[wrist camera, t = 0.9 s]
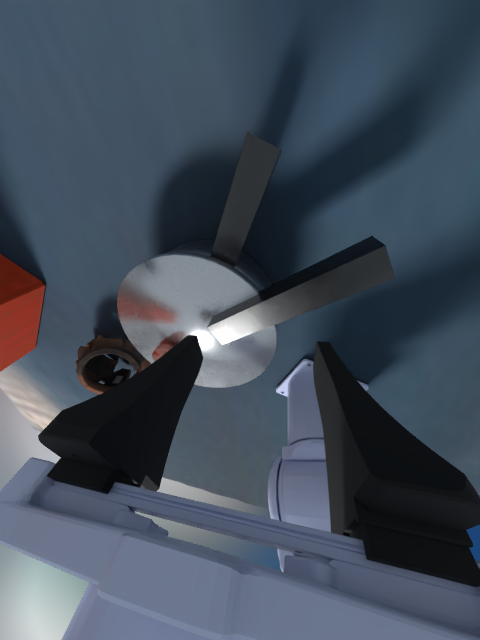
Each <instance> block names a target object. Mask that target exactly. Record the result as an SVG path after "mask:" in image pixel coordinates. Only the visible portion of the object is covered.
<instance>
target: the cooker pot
mask: <svg viewBox="0 0 480 640" xmlns="http://www.w3.org/2000/svg"><path fill="white" fill-rule="evenodd" d="M280 154H281V149H279V148H277V147H275V146H273V145H271V144H270V143H268V142H266V141H264V140H262V139H260V138H258V137H256V136H254V135H252V134H250V133H248V132H247V135H246V138H245V142H244V145H243V148H242V152H241V155H240V158H239V162H238V165H237V168H236V172H235V175H234V178H233V182H232V185H231V189H230V192H229V195H228V199H227V202H226V205H225V209H224V212H223V215H222V219H221V222H220V226H219V229H218V232H217V236H216V239H215V240H195V241H190V242H187V243H184V244H182V245H180V246H178V247H176V248H175V249H173V250H172V251H170V252H194V253H199V254H204V255H207V256H210V257H213V258H216V259H219V260H221V261H223V262H225V263H227V264H229V265H231V266H233V267H234V268H236V269H237V270H239V271H240V272H242V273H243V274H244V275H245V276H247V277H248V278H249V279H250V280H251V281H252V282H253V283H254V284H255V285H256V286H257V287H258V288H259V289H260V291H261V290H263V289H265V288H267V287H269V286H271V283H270V280H269V278H268V276H267V275H266V273H265V272H264V270H263V269H262V268H261V266H260V265H259V264H258V263H257V262H256V261H255V260H254V259H253V258H252V257H251V256H249V255H248V254H247V253H245V252H244V251H242V250H243V248H244V245H245V243H246V240H247V237H248V235H249V232H250V230H251V227H252V225H253V222H254V220H255V217H256V215H257V212H258V210H259V207H260V205H261V202H262V200H263V197H264V195H265V192H266V189H267V187H268V184H269V182H270V179H271V177H272V174H273V172H274V169H275V167H276V164H277V162H278V159H279V157H280Z"/></svg>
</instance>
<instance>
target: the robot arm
mask: <svg viewBox="0 0 480 640" xmlns="http://www.w3.org/2000/svg"><path fill="white" fill-rule="evenodd" d="M202 362H203V355H202V351H201V347H200V344H199V340H198V337H197V335H187V336H186V337H185V338H184V339H182V340H181V341H180V342H179V343H177V344H176V345H175V346H174V347H173V348H171V349H170V350H169V351H168V352H166V353H165V354H164V355H163V356H161V357H160V358H159V359H157V360H156V361H155V362H153V363H152V364H151V365H149V366H148V367H147V368H145V369H144V370H142V371H141V372H139V373H138V374H136V375H134V376H133V377H131V378H130V379H128V380H126V381H124V382H123V383H121V384H119V385H117V386H115V387H114V388H112V389H110V390H108V391H106V392H104V393H102V394H100V395H98V396H95V397H93V398H91V399H89V400H87V401H84V402H82V403H80V404H77V405H75V406H72V407H70V408H68V409H65V410H62V411H61V412H60V413H59V414H58V415H57V416H56V417H55V419H54V420H53V421H52V422H51V423H50V424H49V425H48V426H47V427H46V428H45V429H44V430H43V431H42V432H41V433H40V434H39V435H38V437H39V441H40V442H41V443H42V444H43V445H44V446H46V447H47V448H48V449H50V450H51V451H53V452H54V453H56V454H57V455H58V456H60V457H61V459H60V460H59V461H58V462H57V463H56V464H55V463H52V462H50V461H46V460H41V459H37V458H30V459H29V460H28V461H27V462H26V463H25V464H24V466H23V467H22V468H21V469H20V470H19V471H18V472H17V473H16V475H14V477H13V478H12V479H11V480H10V481H9V482H8V483H7V484H6V485H5V487H3V489H2V490H1V491H0V544H2V545H5V546H7V547H9V548H12V549H14V550H16V551H19V552H21V553H23V554H26V555H28V556H30V557H32V558H35V559H37V560H39V561H42V562H44V563H46V564H49V565H51V566H53V567H55V568H58V569H60V570H62V571H65V572H67V573H69V574H71V575H74V576H76V577H78V578H81V579H83V580H85V581H88V582H89V585H88V587H87V589H86V591H85V593H84V595H83V597H82V599H81V601H80V603H79V605H78V607H77V609H76V612H75V613H74V615H73V618H72V620H71V622H70V624H69V626H68V628H67V630H66V632H65V634H64V636H63V638H62V640H480V561H475V559H474V557H473V555H472V553H471V551H470V549H469V547H473V543H472V541H471V539H470V537H469V535H468V533H467V531H466V530H467V529H469V528H472V527H474V526H477V525H479V524H480V497H479V495H478V494H477V492H476V490H475V489H474V487H473V486H472V484H471V483H470V482H469V480H468V479H467V477H466V476H465V474H464V473H462V472H461V471H460V470H458V469H457V468H455V467H454V466H453V465H451V464H450V463H449V462H447V461H446V460H445V459H443V458H442V457H441V456H439V455H438V454H436V453H435V452H434V451H432V450H431V449H430V448H428V447H427V446H426V445H425V444H423V443H422V442H421V441H420V440H418V439H417V438H416V437H415V436H413V435H412V434H411V433H410V432H409V431H407V430H406V429H405V428H404V427H403V426H402V425H401V424H400V423H398V422H397V421H396V420H395V419H394V418H393V417H392V416H390V415H389V414H388V413H387V412H386V411H385V410H384V409H383V408H382V407H381V406H380V405H379V404H378V403H377V402H376V401H375V400H374V399H373V398H372V397H371V396H370V395H369V394H368V393H367V390H368V389H369V387H368V385H367V384H364V383H362V382H360V381H357V380H356V379H355V378H354V376H353V375H352V374H351V373H350V371H349V370H348V369H347V367H346V366H345V365H344V363H343V362H342V361H341V359H340V358H339V356H338V355H337V353H336V352H335V350H334V349H333V347H332V346H331V344H330V343H329V342H317V345H316V351H315V357H314V362H313V361H311V360H309V359H303V360H302V361H301V362H300V363H299V364H298V365H297V366H296V367H295V368H294V370H293V371H292V372H291V373H290V374H289V375H288V376H287V377H286V378H285V379H284V380H283V382H282V383H281V384H280V385H279V386H278V387H277V388H276V392H277V393H279V394H282V395H284V396H287V397H288V446H287V447H282V457H279V458H277V459H276V460H275V462H274V464H273V466H272V468H271V471H270V475H269V481H268V503H269V511H270V516H271V518H266V517H262V516H258V515H254V514H249V513H245V512H241V511H237V510H232V509H228V508H224V507H219V506H215V505H211V504H207V503H202V502H198V501H194V500H190V499H186V498H181V497H177V496H172V495H169V494H164V493H160V492H156V491H157V490H158V489H159V487H160V483H161V479H162V475H163V471H164V467H165V463H166V460H167V456H168V453H169V449H170V446H171V442H172V439H173V436H174V433H175V430H176V427H177V424H178V421H179V418H180V415H181V412H182V409H183V407H184V405H185V402H186V400H187V398H188V396H189V394H190V392H191V389H192V387H193V385H194V383H195V381H196V379H197V376H198V374H199V371H200V368H201V365H202ZM134 511H137V512H141V513H144V514H148V515H152V516H156V517H160V518H163V519H167V520H171V521H175V522H179V523H182V524H186V525H190V526H194V527H197V528H201V529H205V530H209V531H213V532H216V533H220V534H224V535H228V536H232V537H236V538H239V539H243V540H247V541H251V542H255V543H258V544H262V545H266V546H270V547H273V548H277V549H278V556H279V559H280V568H281V569H282V571H278V570H276V569H272V568H270V567H267V566H263V565H260V564H257V563H254V562H251V561H248V560H245V559H242V558H239V557H236V556H233V555H229V554H226V553H223V552H220V551H217V550H213V549H210V548H207V547H203V546H200V545H197V544H193V543H190V542H186V541H182V540H179V539H175V538H171V537H167V536H168V531H167V530H165V529H163V528H161V527H159V526H158V525H156V524H155V523H154V522H153V521H152V520H151V519H149V518H146V517H144V516H141V515H138V514H135V512H134Z"/></svg>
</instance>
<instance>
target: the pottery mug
mask: <svg viewBox="0 0 480 640" xmlns="http://www.w3.org/2000/svg"><path fill="white" fill-rule="evenodd" d="M103 354H114V355H118V356H121V357H123V358H125V359H126V360H128V361H129V362H130V363H131V365H132V366H133V369H134V371H136V370H137V372H136V374H138V373H139V372H141V371H142V370H144V369H145V368H147V367H148V366H149V365H150V364H151V362H149V361H148V360H147V359H146V358H145V357H144V356H143V355H142V354H141V353H140V352H139V351H138V350H137V349H136V348H135V347H134V346H133V344H132V343H131V341H130V340H125V341H123V340H122V339H121V338H105V337H103V336H101V335H98V336H97V338H95V339H93V340H92V341H90V342H89V343H88V344H87V347H83V346H80V348H79V349H78V360H77V361H76V367H77V369H76V372H77V376H78V379H79V381H80V382H81V384H82V385H83V386H85V387H86V389H88V390H90V391H92V392H94V393H97V394H102V393H104V392H106V391H108V390H110V389H112V388H114V387H115V386H117V385H119V384H121V383H123V382H124V381H126V380H128V379H129V377H130V373H131V370H128V369H123V368H122V369H120V370H118V371H116V372H113V371H114V369H115V366H116V365H117V363H118V361H116V360H112V359H110V358H108V357H106V356H105V355H103ZM136 374H134V375H136ZM99 381H102V382H104V383H105V384H101V383H98V382H99Z"/></svg>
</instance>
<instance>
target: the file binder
mask: <svg viewBox="0 0 480 640" xmlns="http://www.w3.org/2000/svg"><path fill="white" fill-rule="evenodd" d="M44 290H45V285H44V284H43V282H42V281H41V280H39V279H38V278H36V277H35V276H33V275H32V274H30V273H28V272H27V271H25V270H24V269H22V268H21V267H19V266H18V265H16V264H15V263H13V262H12V261H10V260H9V259H7V258H6V257H4V256H3V255H1V254H0V371H2V370H3V369H5V368H6V367H8V366H9V365H11V364H12V363H14V362H15V361H17V360H18V359H20V358H21V357H23V356H24V355H26V354H27V353H28V352H30V351H31V350H33V349H34V348H36V342H37V335H38V329H39V323H40V316H41V310H42V303H43V297H44Z"/></svg>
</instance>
